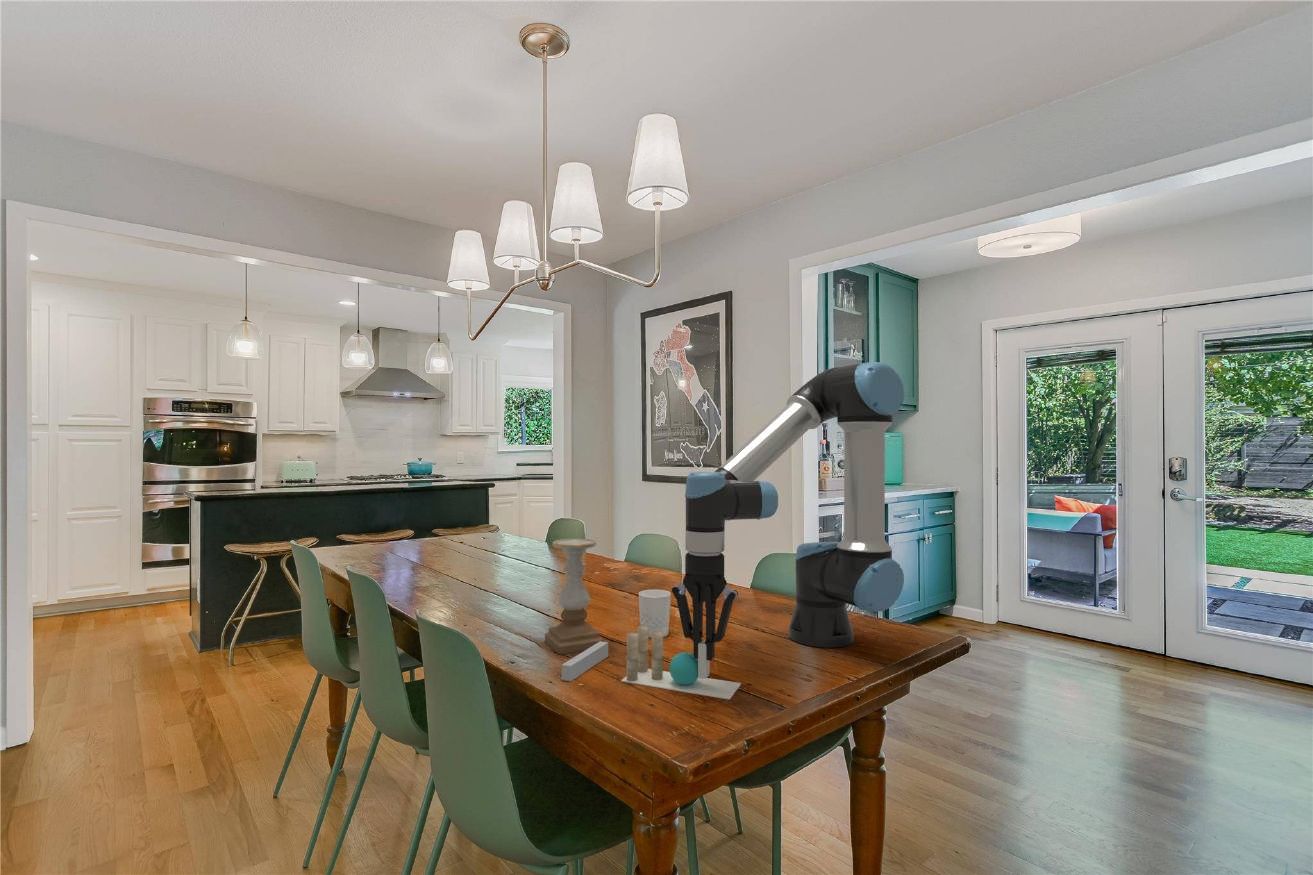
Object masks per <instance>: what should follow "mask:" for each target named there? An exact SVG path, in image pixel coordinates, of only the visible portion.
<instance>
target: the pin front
mask: <svg viewBox="0 0 1313 875" xmlns="http://www.w3.org/2000/svg"><path fill="white" fill-rule="evenodd" d="M663 657H664V637H663V633H662V632H653V633H652V638H651V669H652V679H653V680H661V679H663V671H664V668H663V667H664V658H663Z"/></svg>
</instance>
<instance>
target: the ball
mask: <svg viewBox="0 0 1313 875" xmlns="http://www.w3.org/2000/svg"><path fill="white" fill-rule="evenodd" d="M669 672H670V674H671V677H672V678H673V680H674V681H675V682H677V683H678V684H681V685H690V684H692V683H694V682H695V681H696V680H697V679H698V659H696V658H694V656H693V654H692V653H690V652H686V651H684V652H682V651H681V652H679V653H676V654H675V656H673V658H671V660H670V663H669Z"/></svg>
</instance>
